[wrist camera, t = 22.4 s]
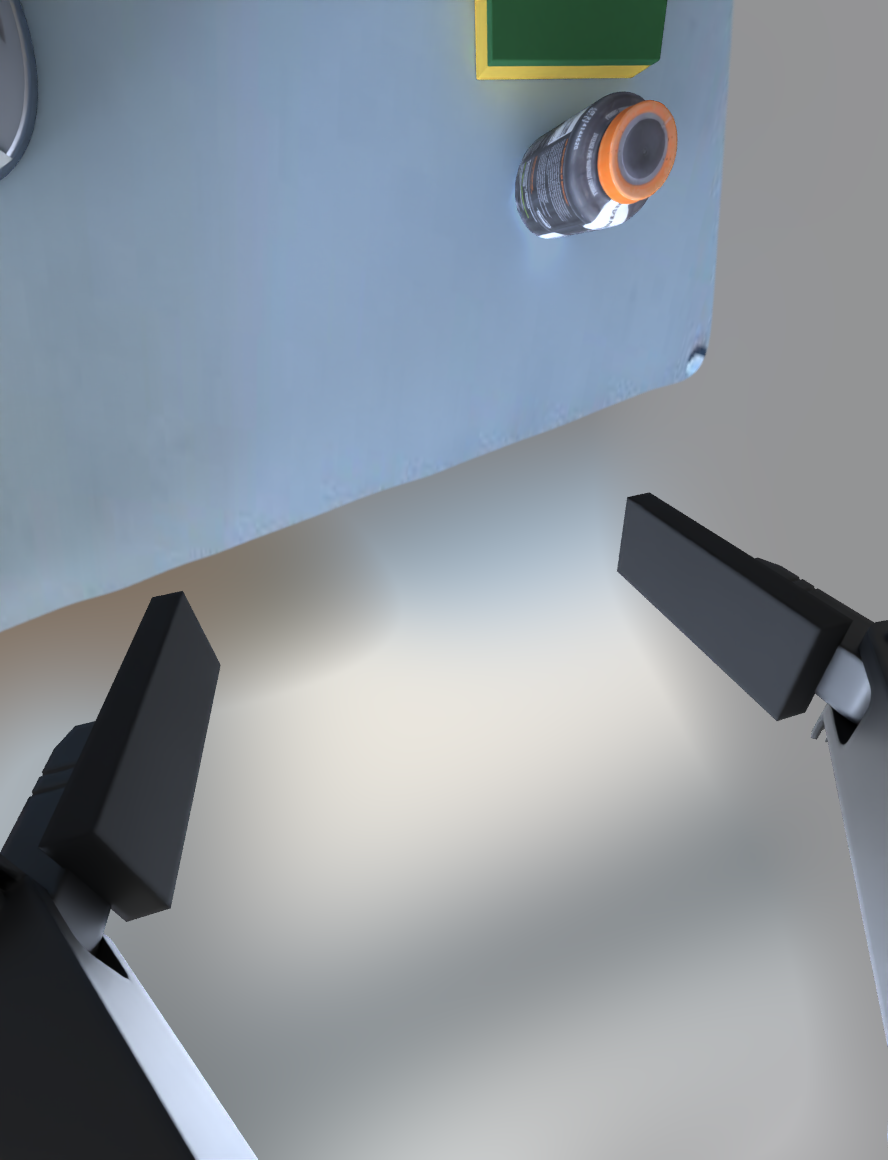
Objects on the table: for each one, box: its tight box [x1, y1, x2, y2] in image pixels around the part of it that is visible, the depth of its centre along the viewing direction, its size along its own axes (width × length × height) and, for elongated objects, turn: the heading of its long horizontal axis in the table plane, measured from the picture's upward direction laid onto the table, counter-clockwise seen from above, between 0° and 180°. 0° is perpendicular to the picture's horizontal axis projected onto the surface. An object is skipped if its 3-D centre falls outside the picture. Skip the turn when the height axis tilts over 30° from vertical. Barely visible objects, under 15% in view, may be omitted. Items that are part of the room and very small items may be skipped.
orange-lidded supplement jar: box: [515, 92, 677, 239], centre depth 29 cm, size 6×6×11 cm
